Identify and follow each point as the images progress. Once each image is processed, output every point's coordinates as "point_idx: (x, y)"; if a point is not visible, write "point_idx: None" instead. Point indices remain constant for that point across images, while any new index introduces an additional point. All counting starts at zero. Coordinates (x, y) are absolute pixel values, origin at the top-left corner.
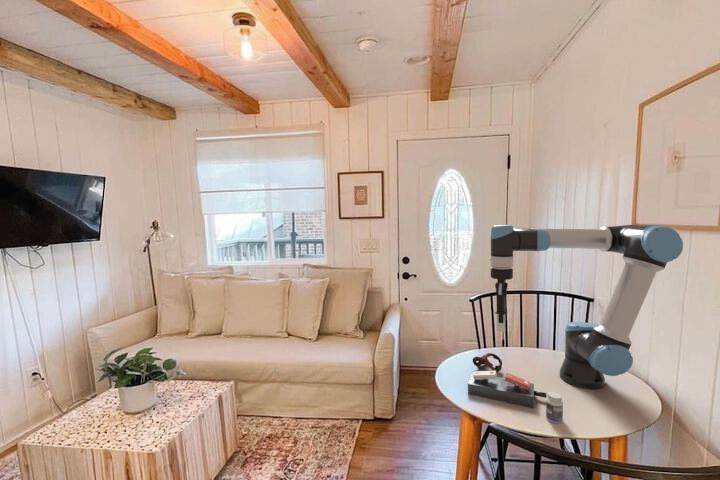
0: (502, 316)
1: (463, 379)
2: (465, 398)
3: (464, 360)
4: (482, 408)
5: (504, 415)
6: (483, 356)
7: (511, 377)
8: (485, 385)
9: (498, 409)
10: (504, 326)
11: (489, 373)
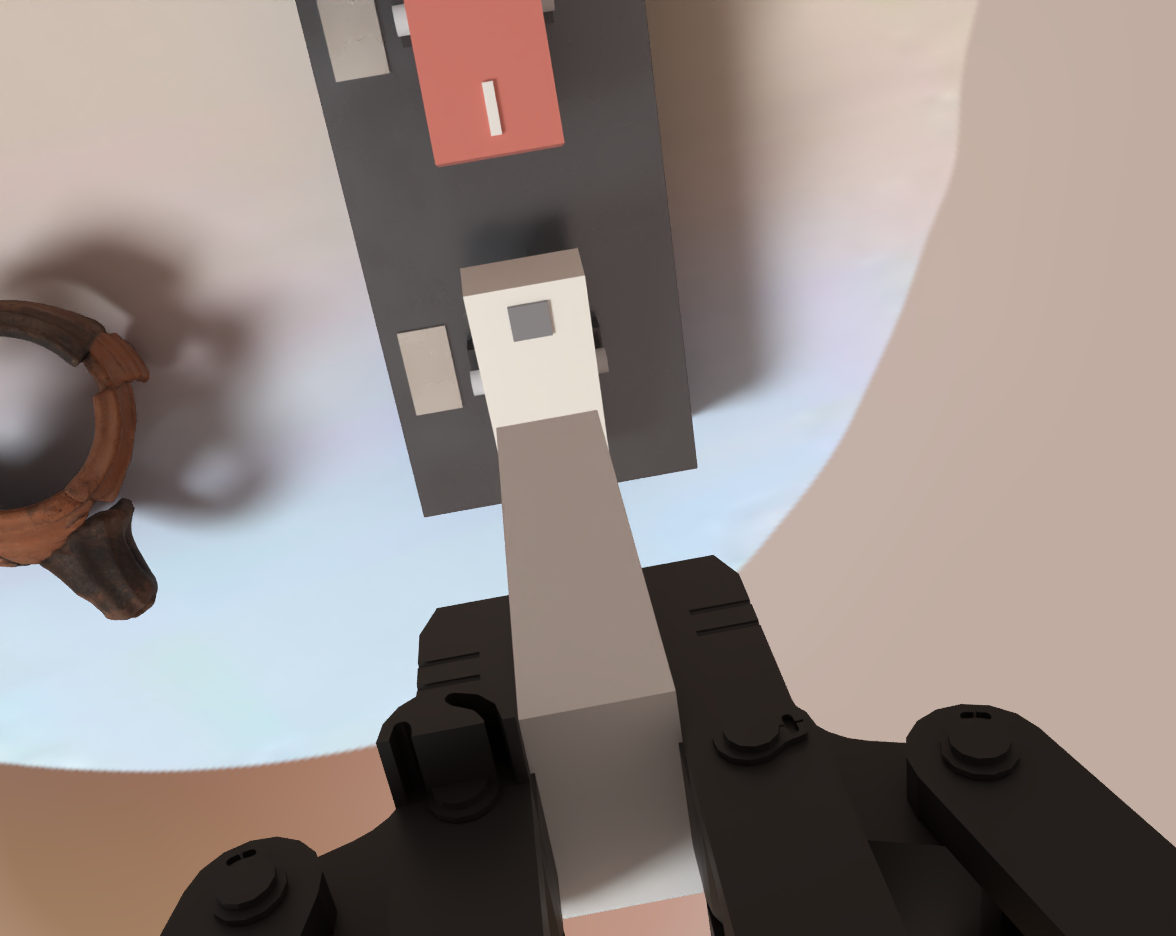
0: (782, 697)
1: (434, 545)
2: (766, 411)
3: (14, 682)
4: (859, 235)
5: (883, 26)
6: (25, 546)
7: (510, 81)
8: (643, 316)
9: (806, 104)
10: (616, 482)
11: (555, 339)
